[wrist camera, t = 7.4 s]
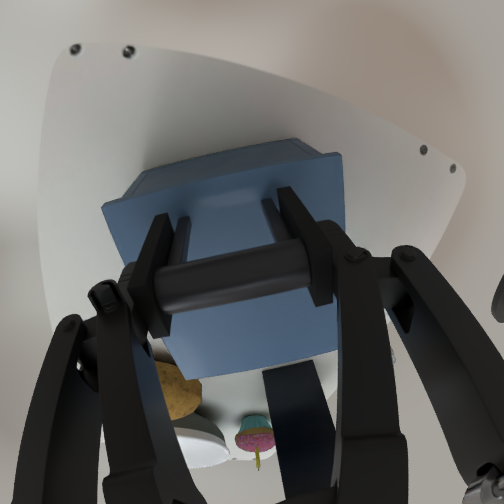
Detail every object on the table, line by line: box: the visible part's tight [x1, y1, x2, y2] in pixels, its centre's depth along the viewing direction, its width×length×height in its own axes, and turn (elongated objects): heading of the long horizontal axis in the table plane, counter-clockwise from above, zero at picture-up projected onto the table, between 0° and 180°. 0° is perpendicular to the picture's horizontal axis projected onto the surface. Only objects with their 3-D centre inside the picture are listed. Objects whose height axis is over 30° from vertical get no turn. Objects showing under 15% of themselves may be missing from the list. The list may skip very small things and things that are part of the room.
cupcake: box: [235, 415, 275, 471], centre depth 46 cm, size 9×8×12 cm
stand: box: [262, 360, 336, 499], centre depth 36 cm, size 8×10×22 cm
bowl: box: [171, 412, 230, 468], centre depth 45 cm, size 19×19×8 cm
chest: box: [122, 138, 322, 197], centre depth 26 cm, size 17×15×10 cm
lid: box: [101, 152, 345, 380], centre depth 18 cm, size 18×15×8 cm
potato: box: [155, 361, 202, 420], centre depth 36 cm, size 10×13×9 cm
